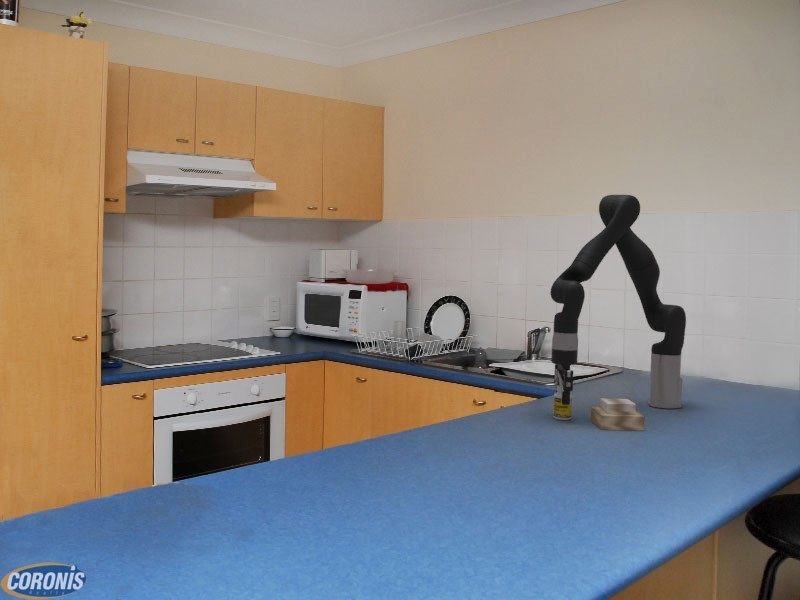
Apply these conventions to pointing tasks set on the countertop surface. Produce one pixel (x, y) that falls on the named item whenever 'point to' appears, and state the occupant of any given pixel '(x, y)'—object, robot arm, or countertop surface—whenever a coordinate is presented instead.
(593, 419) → the tower base
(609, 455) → the countertop surface
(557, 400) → the supplement bottle
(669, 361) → the robot arm
